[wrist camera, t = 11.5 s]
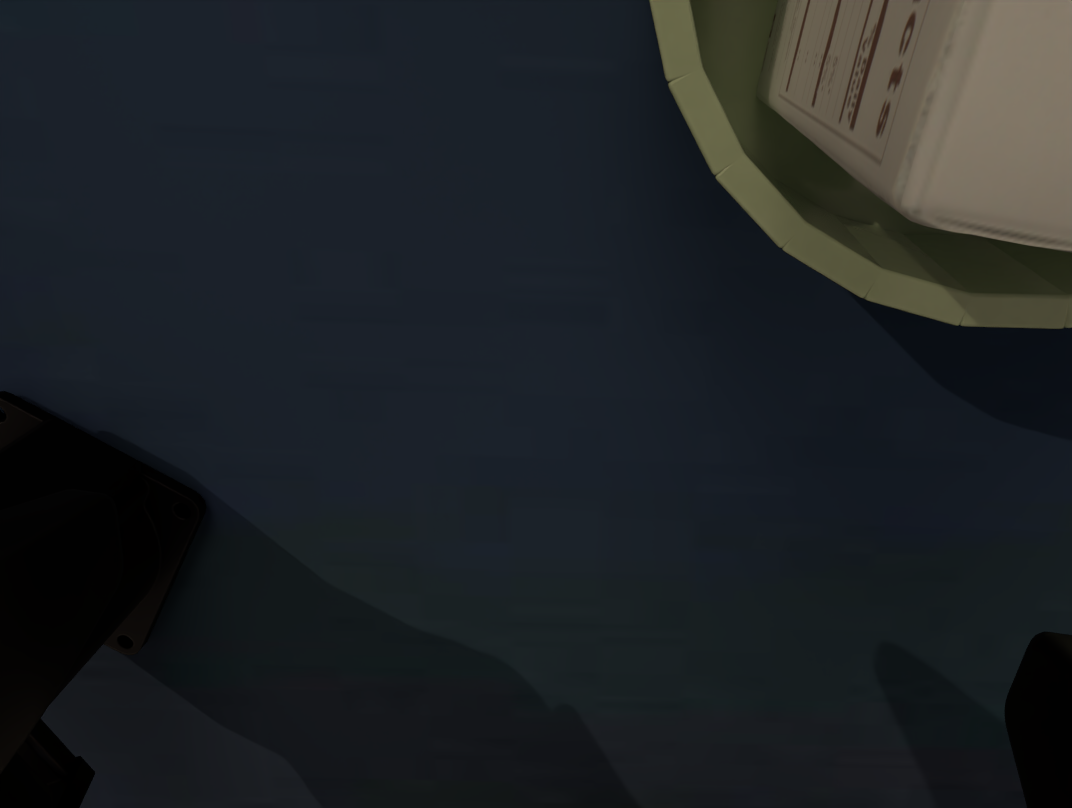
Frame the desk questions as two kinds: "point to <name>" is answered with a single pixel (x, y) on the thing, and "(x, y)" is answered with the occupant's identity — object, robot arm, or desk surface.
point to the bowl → (837, 189)
